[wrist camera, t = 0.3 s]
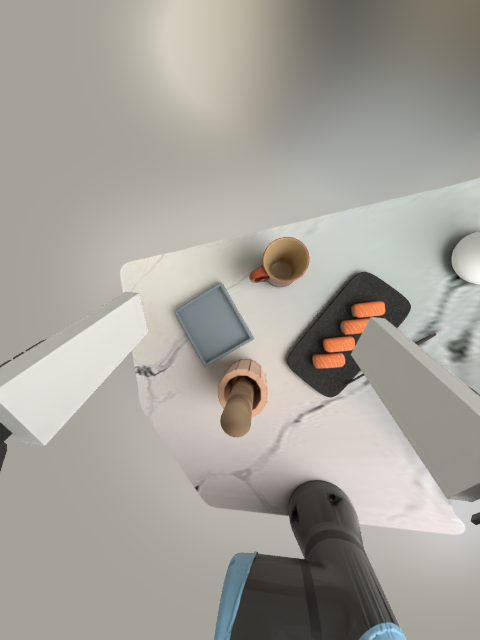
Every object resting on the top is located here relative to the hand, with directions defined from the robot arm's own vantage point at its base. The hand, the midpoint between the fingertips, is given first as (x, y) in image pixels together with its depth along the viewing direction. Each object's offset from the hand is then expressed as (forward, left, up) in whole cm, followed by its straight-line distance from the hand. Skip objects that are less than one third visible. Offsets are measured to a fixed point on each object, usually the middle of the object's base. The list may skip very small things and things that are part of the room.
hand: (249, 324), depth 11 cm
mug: (+8, -9, -35) cm, 37 cm away
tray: (+5, +10, -34) cm, 36 cm away
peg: (-11, +10, -33) cm, 36 cm away
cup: (-11, +10, -34) cm, 37 cm away
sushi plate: (-20, -19, -35) cm, 45 cm away
